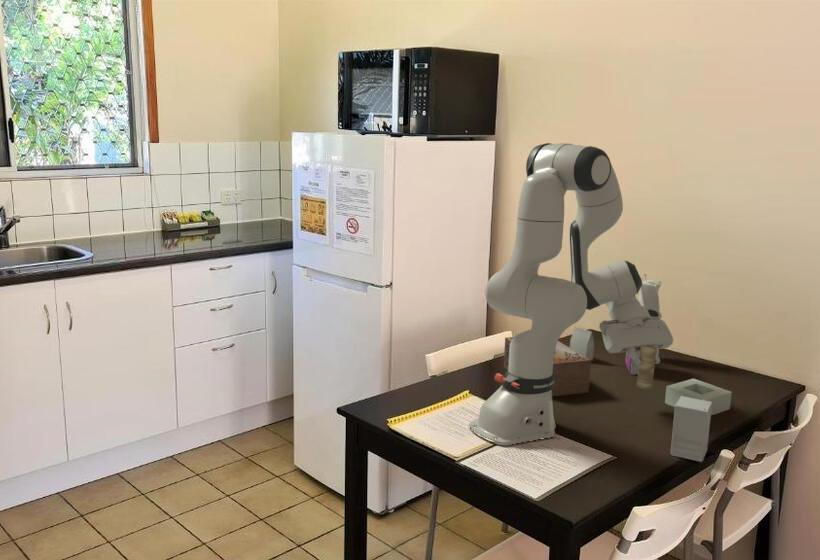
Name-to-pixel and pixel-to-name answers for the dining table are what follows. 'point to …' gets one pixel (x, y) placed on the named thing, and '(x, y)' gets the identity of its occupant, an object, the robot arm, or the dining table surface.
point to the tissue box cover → (564, 369)
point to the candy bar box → (632, 364)
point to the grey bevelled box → (582, 342)
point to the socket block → (699, 394)
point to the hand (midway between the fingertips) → (648, 363)
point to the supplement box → (691, 428)
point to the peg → (646, 367)
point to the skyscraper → (649, 294)
